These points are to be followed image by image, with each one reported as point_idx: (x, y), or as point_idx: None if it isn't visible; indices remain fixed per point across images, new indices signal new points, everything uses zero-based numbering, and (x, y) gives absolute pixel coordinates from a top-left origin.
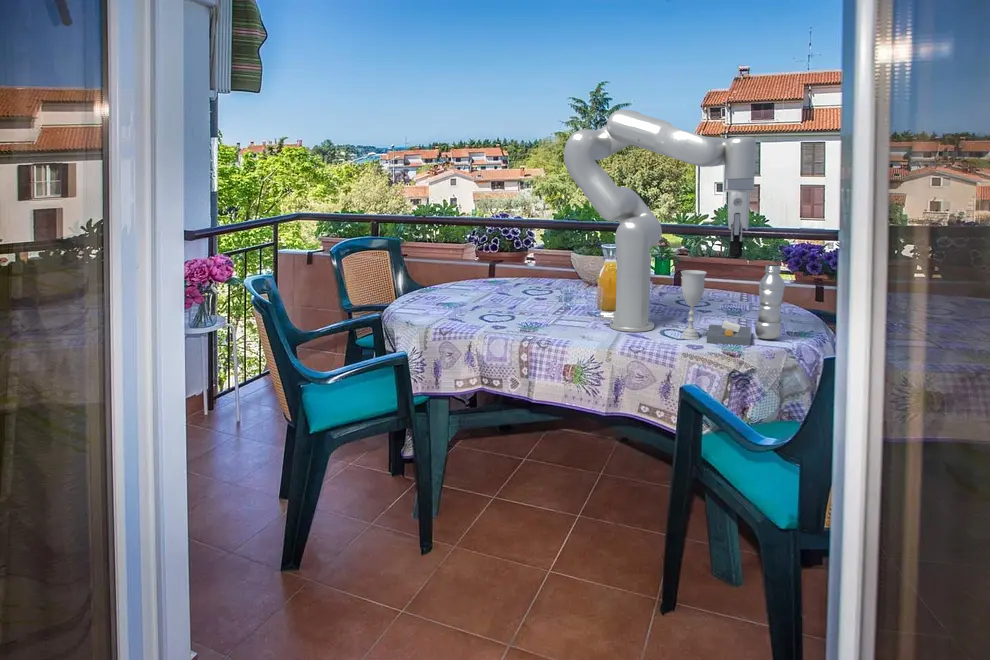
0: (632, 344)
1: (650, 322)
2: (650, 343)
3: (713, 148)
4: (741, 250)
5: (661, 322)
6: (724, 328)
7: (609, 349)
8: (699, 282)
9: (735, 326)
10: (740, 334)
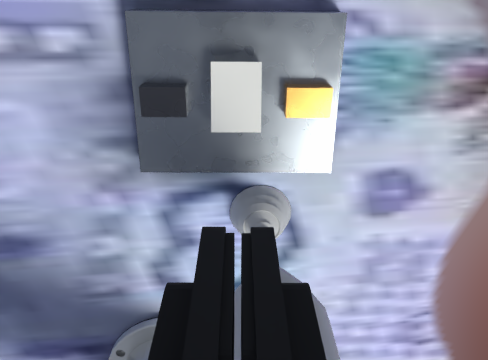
0: (384, 340)
1: (137, 335)
2: (364, 304)
3: None
4: (279, 274)
5: (62, 304)
6: (194, 116)
7: None
8: (331, 340)
9: (260, 80)
10: (290, 54)
